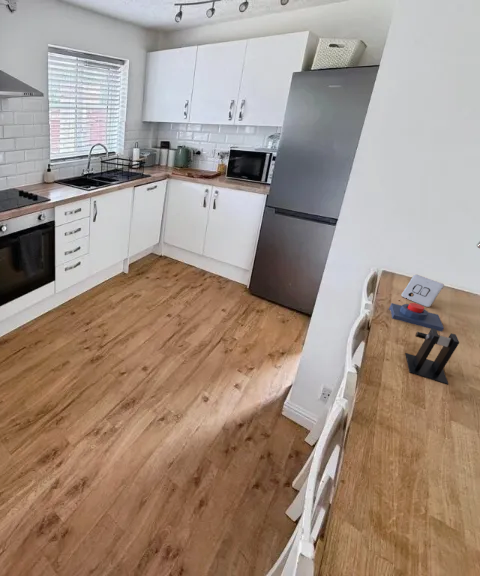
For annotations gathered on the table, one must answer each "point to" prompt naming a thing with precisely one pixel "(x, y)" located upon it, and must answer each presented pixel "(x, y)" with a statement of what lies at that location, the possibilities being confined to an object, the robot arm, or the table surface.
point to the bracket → (427, 367)
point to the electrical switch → (422, 290)
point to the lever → (441, 340)
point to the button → (415, 307)
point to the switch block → (416, 317)
